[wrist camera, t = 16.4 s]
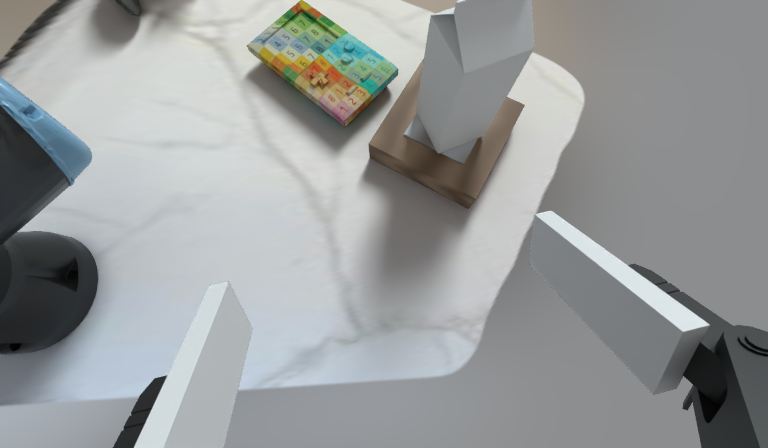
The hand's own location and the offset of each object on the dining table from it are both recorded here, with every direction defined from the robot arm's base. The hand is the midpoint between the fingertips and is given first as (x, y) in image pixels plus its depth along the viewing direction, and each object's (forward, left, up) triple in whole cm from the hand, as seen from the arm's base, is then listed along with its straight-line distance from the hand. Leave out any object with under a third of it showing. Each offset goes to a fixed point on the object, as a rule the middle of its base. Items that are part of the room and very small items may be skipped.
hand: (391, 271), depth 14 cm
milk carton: (-4, +24, -25) cm, 35 cm away
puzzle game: (-26, +26, -30) cm, 47 cm away
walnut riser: (-4, +24, -29) cm, 38 cm away
